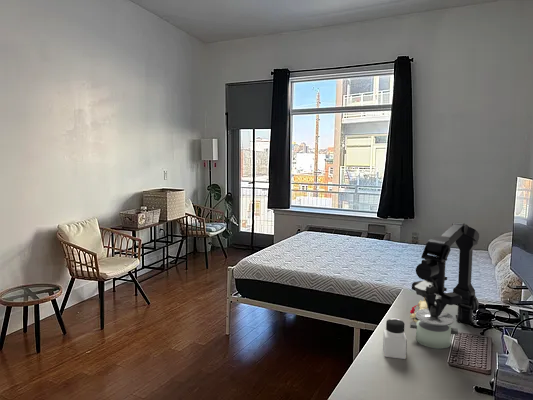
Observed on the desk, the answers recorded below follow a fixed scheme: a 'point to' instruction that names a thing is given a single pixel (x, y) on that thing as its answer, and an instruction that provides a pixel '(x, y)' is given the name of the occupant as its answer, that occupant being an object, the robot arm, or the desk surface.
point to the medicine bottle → (394, 339)
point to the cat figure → (422, 306)
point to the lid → (434, 316)
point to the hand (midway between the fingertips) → (434, 314)
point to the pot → (433, 334)
